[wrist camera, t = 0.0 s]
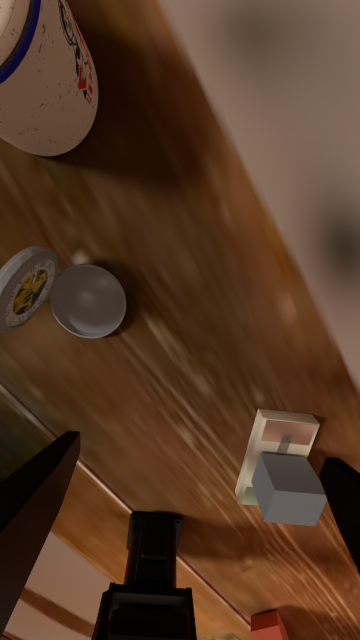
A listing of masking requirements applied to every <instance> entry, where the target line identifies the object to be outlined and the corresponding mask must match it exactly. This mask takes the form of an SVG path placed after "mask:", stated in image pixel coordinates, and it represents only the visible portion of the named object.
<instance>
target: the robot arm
mask: <svg viewBox="0 0 360 640" xmlns="http://www.w3.org/2000/svg"><path fill="white" fill-rule="evenodd" d="M79 453H80V432H79V431H71V430H69V431H66V432H65V433H64V434H62V435H61V436H60V437H58V438H57V439H56V440H55V441H53V442H52V443H51V444H49V445H48V446H47V447H45V448H44V449H43V450H41V451H40V452H39V453H37V454H36V455H35V456H34V457H32V458H31V459H30V460H28V461H27V462H26V463H24V464H23V465H22V466H20V467H19V468H18V469H17V470H15V471H14V472H13V473H11V474H10V475H9V476H7V477H6V478H5V479H3V480H2V481H1V482H0V638H1V636H2V634H3V631H4V629H5V627H6V625H7V623H8V621H9V618H10V616H11V614H12V612H13V610H14V608H15V605H16V603H17V601H18V599H19V597H20V595H21V592H22V590H23V588H24V586H25V584H26V582H27V579H28V577H29V575H30V573H31V571H32V569H33V566H34V564H35V562H36V560H37V558H38V556H39V554H40V551H41V549H42V547H43V545H44V543H45V541H46V538H47V536H48V534H49V532H50V530H51V528H52V525H53V523H54V521H55V519H56V517H57V515H58V512H59V510H60V508H61V505H62V502H63V500H64V497H65V494H66V491H67V489H68V486H69V483H70V480H71V477H72V474H73V471H74V469H75V466H76V463H77V460H78V457H79ZM319 478H320V482H321V484H322V487H323V490H324V492H325V495H326V497H327V500H328V503H329V505H330V508H331V511H332V513H333V516H334V519H335V521H336V524H337V526H338V529H339V531H340V533H341V535H342V538H343V540H344V542H345V544H346V546H347V548H348V550H349V552H350V555H351V557H352V559H353V561H354V563H355V565H356V567H357V569H358V572H359V574H360V473H359V472H357V471H356V470H355V469H353V468H352V467H351V466H349V465H348V464H347V463H345V462H344V461H342V460H341V459H339V458H336V457H327V458H326V459H325V461H324V463H323V466H322V468H321V470H320V473H319ZM181 526H182V517H181V516H175V515H163V514H151V513H139V512H133V513H131V515H130V522H129V531H128V540H127V550H129V552H128V559H127V565H126V572H125V578H124V584H115V583H113V582H110V586H109V590H107V591H105V592H104V593H103V594H102V598H101V603H100V608H99V613H98V617H97V621H96V624H95V628H94V632H93V635H92V639H91V640H197V636H196V627H195V617H194V607H193V598H192V588H187V587H186V589H183V588H176V550H177V545H178V541H179V536H180V531H181Z"/></svg>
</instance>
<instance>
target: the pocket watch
mask: <svg viewBox="0 0 360 640" xmlns="http://www.w3.org/2000/svg"><path fill="white" fill-rule="evenodd" d="M34 272H35V276H34V277H32V276H33V274H34ZM30 275H31V276H30ZM29 276H30V278H29ZM27 279H28V280H27ZM27 281H28V282H27ZM26 282H27V284H26ZM48 296H49V301H50V307H51V310H52V313H53V315H54V316H55V318H56V320H57V321H58V322H59V323H60V324H61V325H62V326H63V327H64V328H65V329H66V330H68V331H69V332H71V333H73V334H75V335H77V336H80V337H83V338H99V337H103V336H106V335H108V334H110V333H112V332H113V331H114V330H115V329H116V328H117V327H118V326H119V325H120V323H121V322H122V321H123V318H124V315H125V312H126V309H127V308H126V304H127V302H126V296H125V292H124V290H123V288H122V286H121V284H120V283H119V281H118V280H117V279H116V278H115V277H114V276H113V275H112V274H111V273H110V272H108V271H107V270H105V269H103V268H101V267H98V266H95V265H90V264H79V265H75V266H71V267H68V268H66V269H65V270H63V271H62V272H60V273H59V274H58V258H57V256H56V254H55V253H54V252H52V251H51V250H49V249H47V248H45V247H40V246H31V247H28V248H26V249H24V250H22V251H20V252H19V253H17V254H16V255H15V256H13V257H12V258H11V259H10V260H9V261H8V262H7V263H6V264H5V265H4V266H3V267H2V269H1V270H0V332H4V333H7V332H10V331H13V330H15V329H17V328H19V327H21V326H22V325H24V324H25V323H27V322H28V321H29V320H30V319H31V318H32V317H33V316H34V315H35V314H36V313H37V312H38V311H39V309H40V308H41V307H42V305H43V304H44V303H45V301H46V300H47V298H48Z"/></svg>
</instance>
